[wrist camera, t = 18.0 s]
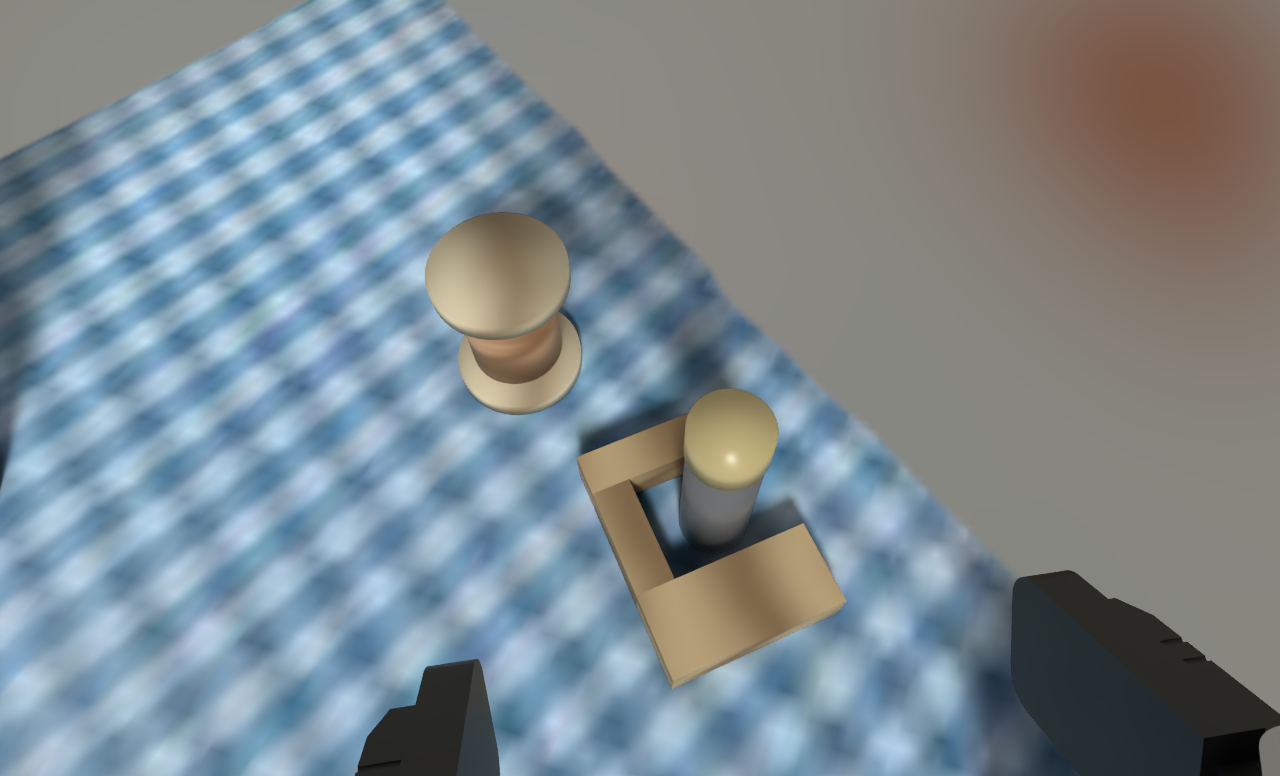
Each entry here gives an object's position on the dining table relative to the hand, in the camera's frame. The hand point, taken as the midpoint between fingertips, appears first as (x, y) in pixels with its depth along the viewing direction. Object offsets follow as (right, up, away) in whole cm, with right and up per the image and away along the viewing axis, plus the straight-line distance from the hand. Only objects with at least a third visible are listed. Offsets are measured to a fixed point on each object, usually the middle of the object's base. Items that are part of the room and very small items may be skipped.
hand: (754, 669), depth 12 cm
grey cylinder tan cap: (+2, -3, +31) cm, 31 cm away
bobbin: (-9, +6, +36) cm, 37 cm away
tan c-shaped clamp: (+2, -4, +30) cm, 31 cm away
